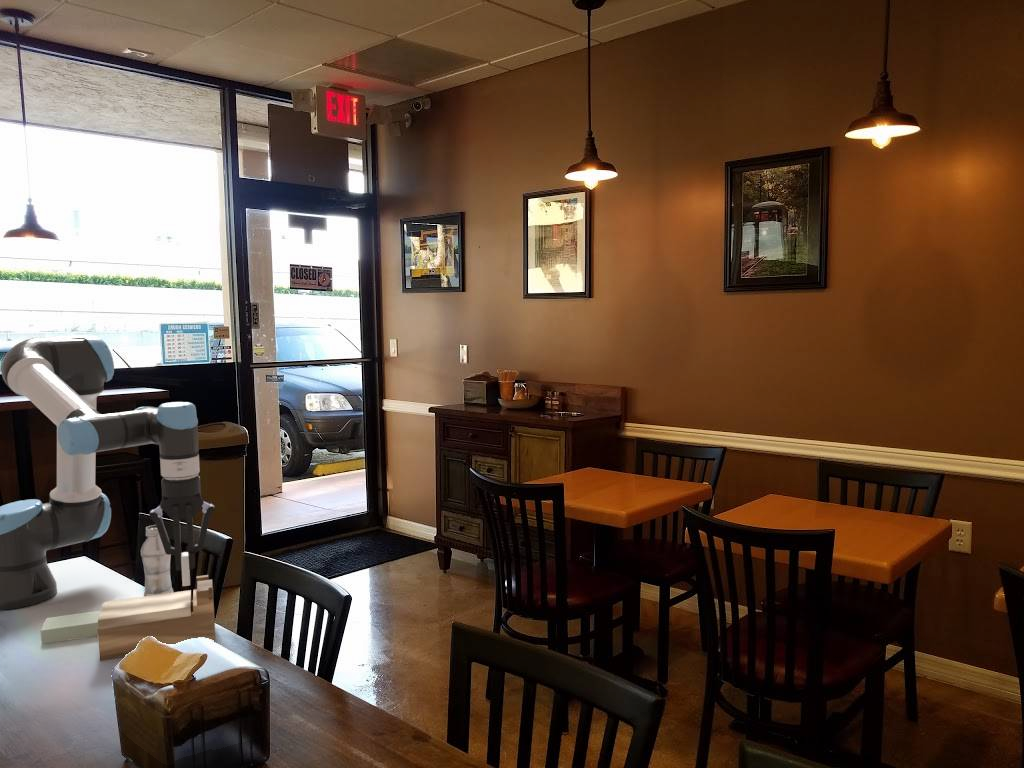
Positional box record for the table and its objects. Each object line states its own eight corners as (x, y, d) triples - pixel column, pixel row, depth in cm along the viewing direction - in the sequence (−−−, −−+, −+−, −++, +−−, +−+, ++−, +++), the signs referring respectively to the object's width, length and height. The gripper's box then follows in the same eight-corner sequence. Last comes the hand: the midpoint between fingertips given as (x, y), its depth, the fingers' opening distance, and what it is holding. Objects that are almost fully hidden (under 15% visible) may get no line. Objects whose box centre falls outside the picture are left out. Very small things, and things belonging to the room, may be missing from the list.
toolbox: (104, 642, 166) (101, 588, 165) (214, 625, 175) (211, 574, 173) (99, 662, 157) (95, 605, 156) (215, 644, 165) (212, 589, 164)
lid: (104, 611, 166) (103, 601, 166) (191, 598, 172) (190, 590, 172) (98, 629, 157) (97, 620, 156) (190, 615, 163) (190, 606, 163)
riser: (47, 631, 173) (46, 618, 172) (113, 621, 177) (112, 608, 177) (41, 644, 166) (40, 630, 166) (109, 633, 171) (108, 620, 170)
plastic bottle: (140, 609, 184) (134, 527, 182) (169, 601, 189) (164, 521, 186) (148, 617, 179) (143, 533, 177) (179, 609, 184) (174, 527, 182)
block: (198, 591, 170) (197, 581, 170) (212, 589, 171) (212, 579, 171) (197, 600, 165) (197, 589, 165) (213, 598, 167) (212, 587, 166)
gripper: (145, 483, 158) (152, 594, 161) (214, 477, 163) (219, 585, 166) (147, 474, 165) (153, 581, 168) (213, 469, 170) (218, 573, 173)
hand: (186, 583), depth 167 cm, fingers closed
